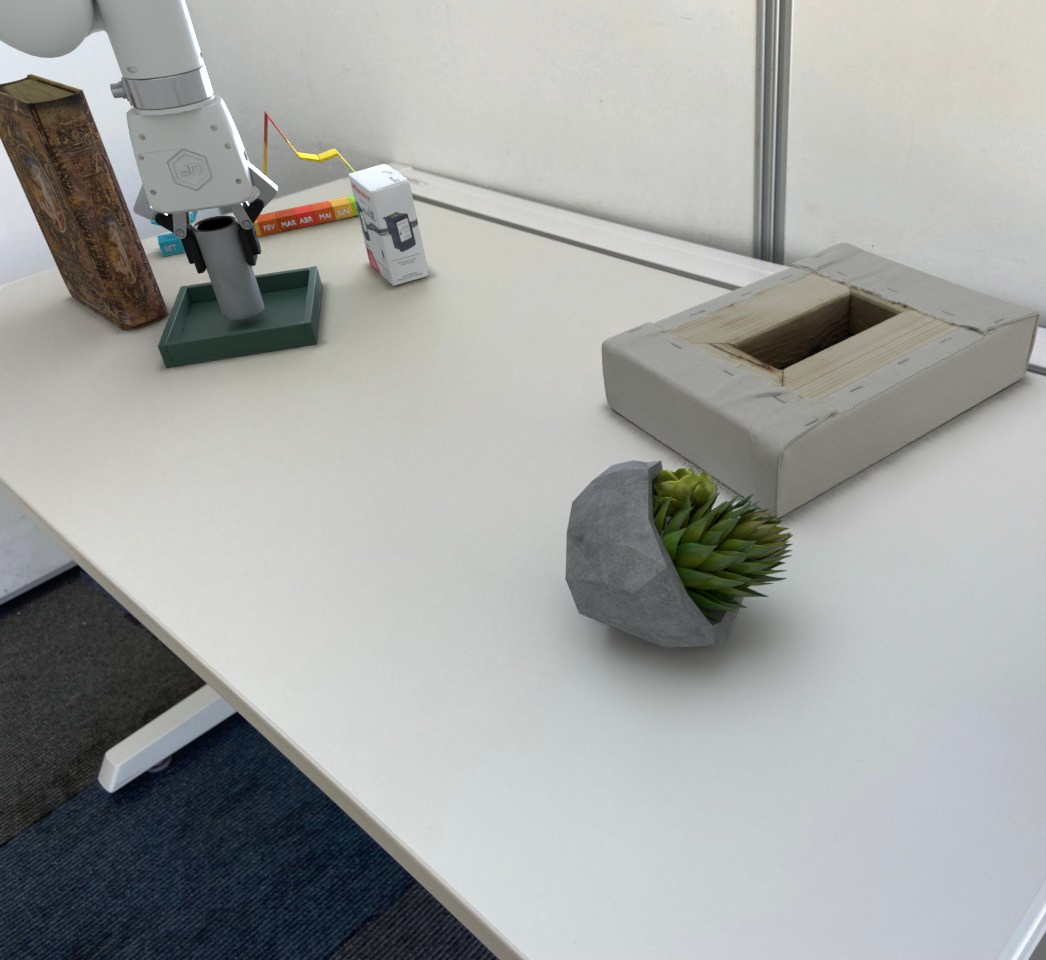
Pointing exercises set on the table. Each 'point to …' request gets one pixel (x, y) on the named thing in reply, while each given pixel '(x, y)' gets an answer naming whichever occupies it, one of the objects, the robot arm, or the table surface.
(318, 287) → the tray
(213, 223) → the gray hollow cylinder
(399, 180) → the ink box
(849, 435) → the box
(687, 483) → the potted plant
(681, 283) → the table surface
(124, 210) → the book
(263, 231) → the chart
